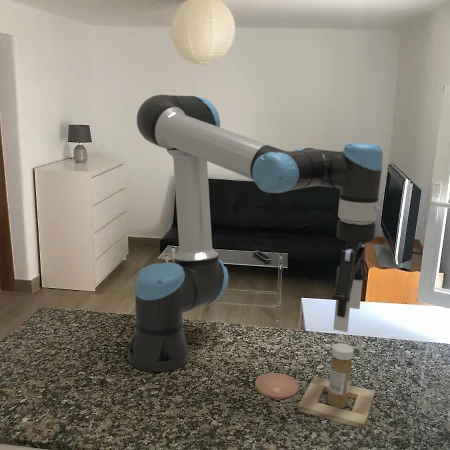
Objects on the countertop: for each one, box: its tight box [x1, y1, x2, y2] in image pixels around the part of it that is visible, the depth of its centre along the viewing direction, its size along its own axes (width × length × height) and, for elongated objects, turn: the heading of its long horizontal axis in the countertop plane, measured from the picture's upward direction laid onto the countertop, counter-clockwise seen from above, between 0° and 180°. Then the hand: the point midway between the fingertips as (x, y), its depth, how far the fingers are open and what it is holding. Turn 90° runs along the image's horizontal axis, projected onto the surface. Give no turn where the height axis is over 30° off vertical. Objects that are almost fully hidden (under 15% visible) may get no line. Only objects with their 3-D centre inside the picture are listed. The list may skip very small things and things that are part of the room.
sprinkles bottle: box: [326, 342, 355, 409], centre depth 114 cm, size 5×5×13 cm
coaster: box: [254, 372, 300, 400], centre depth 121 cm, size 10×10×1 cm
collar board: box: [297, 376, 376, 430], centre depth 115 cm, size 14×14×1 cm
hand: (347, 318), depth 111 cm, fingers open, 13 cm apart
